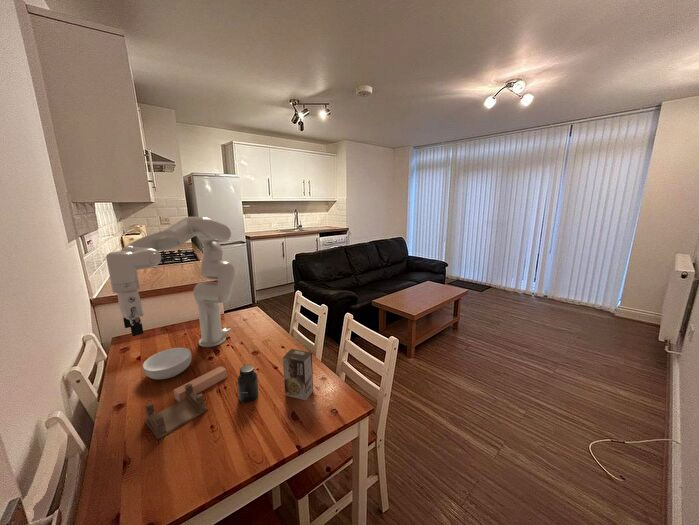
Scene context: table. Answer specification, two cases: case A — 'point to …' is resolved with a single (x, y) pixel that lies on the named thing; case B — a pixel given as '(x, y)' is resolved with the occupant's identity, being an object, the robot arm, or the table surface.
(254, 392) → the supplement bottle
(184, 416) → the plate with corner blocks
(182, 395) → the pink rectangular bar
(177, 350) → the cereal bowl
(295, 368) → the coffee box
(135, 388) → the table surface
